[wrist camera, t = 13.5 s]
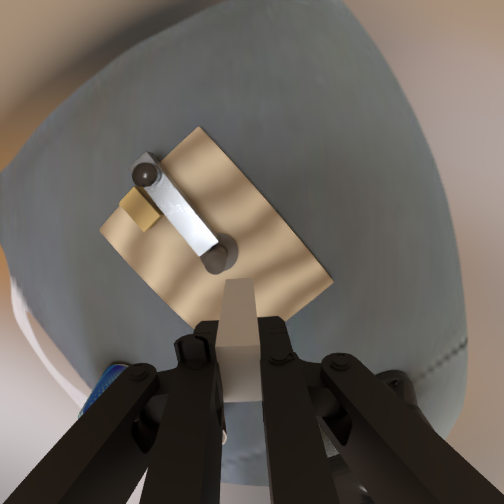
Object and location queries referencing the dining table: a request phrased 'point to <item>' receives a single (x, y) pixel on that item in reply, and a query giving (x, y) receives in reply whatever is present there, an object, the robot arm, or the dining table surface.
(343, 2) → the dining table surface
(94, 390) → the beer can
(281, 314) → the door board
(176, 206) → the swing bar
